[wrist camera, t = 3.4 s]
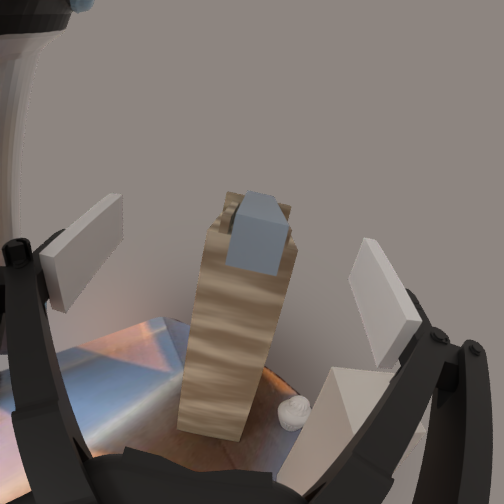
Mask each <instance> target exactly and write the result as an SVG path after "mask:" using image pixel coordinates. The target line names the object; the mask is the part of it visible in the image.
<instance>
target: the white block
mask: <svg viewBox="0 0 504 504" xmlns="http://www.w3.org/2000/svg"><path fill="white" fill-rule="evenodd" d="M394 375H395V374H394V373H387V372H378V371H367V370H357V369H348V368H340V367H331V369H330V372H329V374H328V376H327V378H326V380H325V383H324V385H323V387H322V390H321V392H320V394H319V396H318V398H317V400H316V402H315V404H314V406H313V408H312V410H311V412H310V414H309V416H308V418H307V420H306V422H305V424H304V426H303V428H302V430H301V432H300V434H299V436H298V438H297V440H296V442H295V444H294V445H293V447H292V449H291V451H290V453H289V455H288V456H287V458H286V460H285V462H284V464H283V465H282V467H281V469H280V471H279V472H278V474H277V482H278V483H281V484H283V485H286V486H288V487H289V488H291V489H293V490H294V491H296V492H297V493H299V494H300V495H301V496H302V495H303V494H305V493H306V492H307V491H308V490H309V489H310V488H311V487H312V486H313V485H314V484H315V483H316V482H317V481H318V480H319V479H320V477H321V476H322V475H323V474H324V473H325V472H326V470H327V469H328V468H329V467H330V466H331V465H332V463H333V462H334V461H335V460H336V458H337V457H338V456H339V455H340V453H341V452H342V451H343V450H344V448H345V447H346V446H347V445H348V443H349V442H350V441H351V439H352V438H353V437H354V435H355V434H356V433H357V431H358V430H359V429H360V427H361V426H362V424H363V423H364V422H365V420H366V419H367V417H368V416H369V414H370V413H371V412H372V410H373V409H374V407H375V406H376V404H377V403H378V401H379V400H380V398H381V397H382V395H383V393H384V392H385V390H386V389H387V387H388V385H389V384H390V383H389V382H390V380H391V379H392V378H393V376H394ZM425 433H426V430H425V428H424V426H423V424H422V422H421V421H420V423H419V425H418V427H417V429H416V431H415V433H414V435H413V437H412V439H411V441H410V443H409V445H408V447H407V449H406V451H405V452H404V454H403V456H402V458H401V460H400V462H399V463H398V465H397V467H396V469H397V468H398V467H399V466H400V464H401V463H402V462H403V461H404V460H405V459H406V457H407V456H408V455H409V454H410V452H411V451H412V450H413V449H414V448H415V446H416V445H417V444H418V443H419V441H420V440H421V439H422V437H423V436H424V435H425ZM396 469H395V470H396ZM395 470H394V471H395ZM393 473H394V472H393Z"/></svg>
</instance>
